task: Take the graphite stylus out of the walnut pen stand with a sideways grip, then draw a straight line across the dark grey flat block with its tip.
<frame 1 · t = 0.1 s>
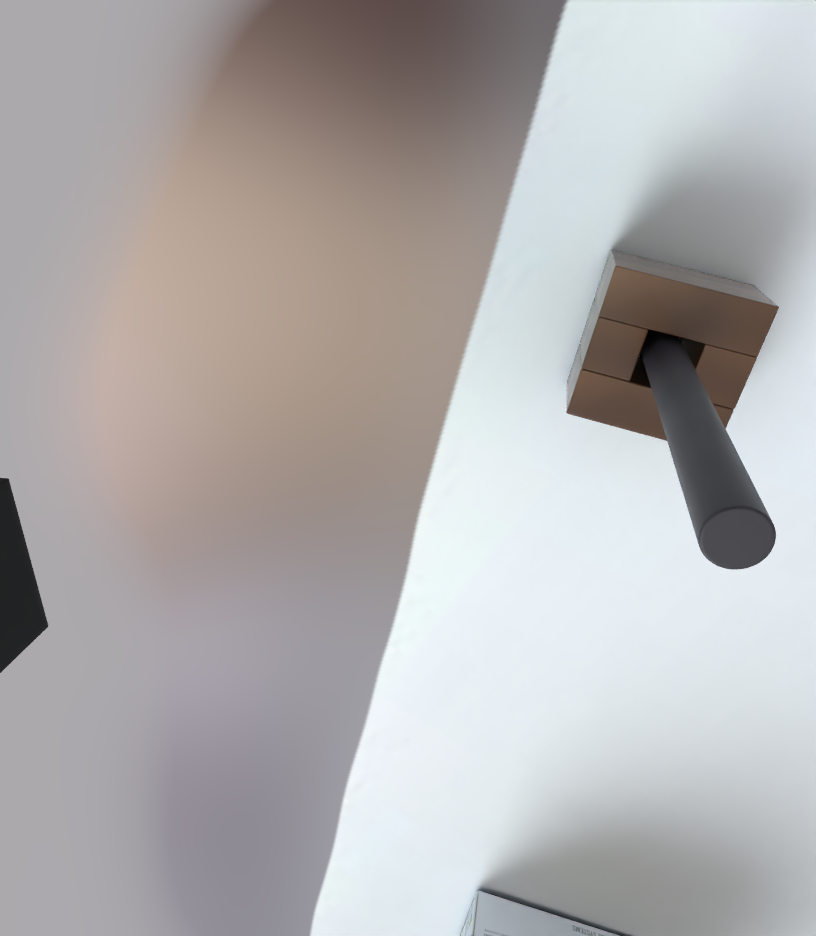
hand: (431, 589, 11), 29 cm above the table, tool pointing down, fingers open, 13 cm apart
pen stand: (656, 337, 37), on the table
stylus: (683, 405, 28), in the pen stand
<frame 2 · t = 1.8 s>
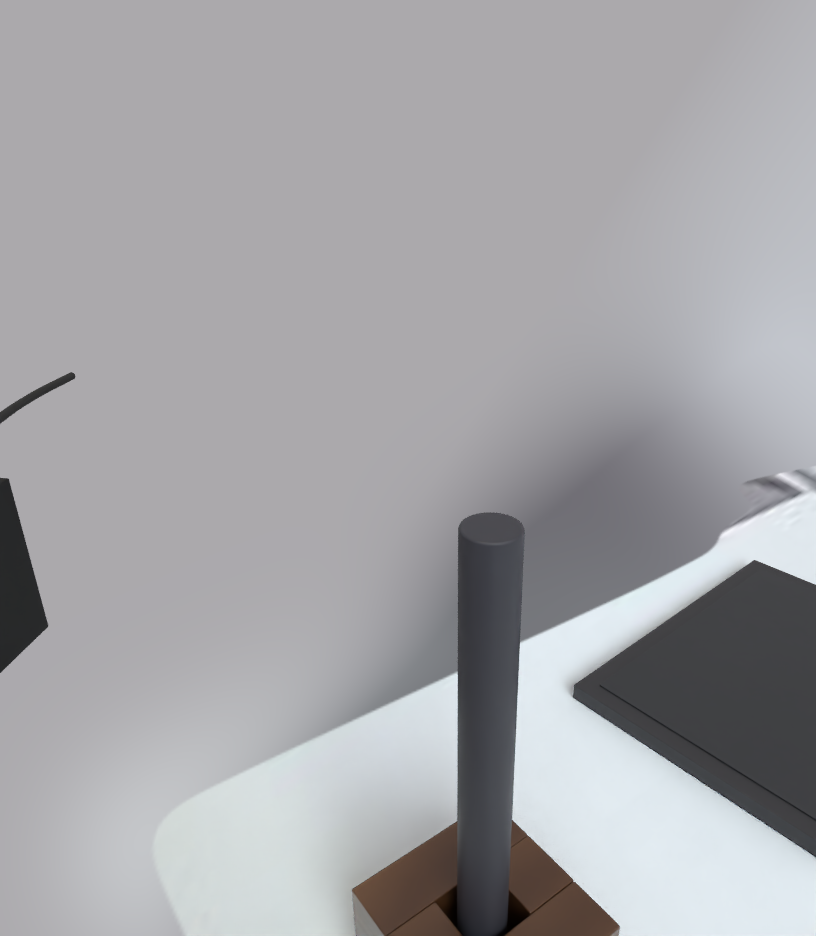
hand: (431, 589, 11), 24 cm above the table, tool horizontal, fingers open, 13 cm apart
dark grey flat block: (779, 681, 44), on the table
stylus: (485, 794, 25), in the pen stand
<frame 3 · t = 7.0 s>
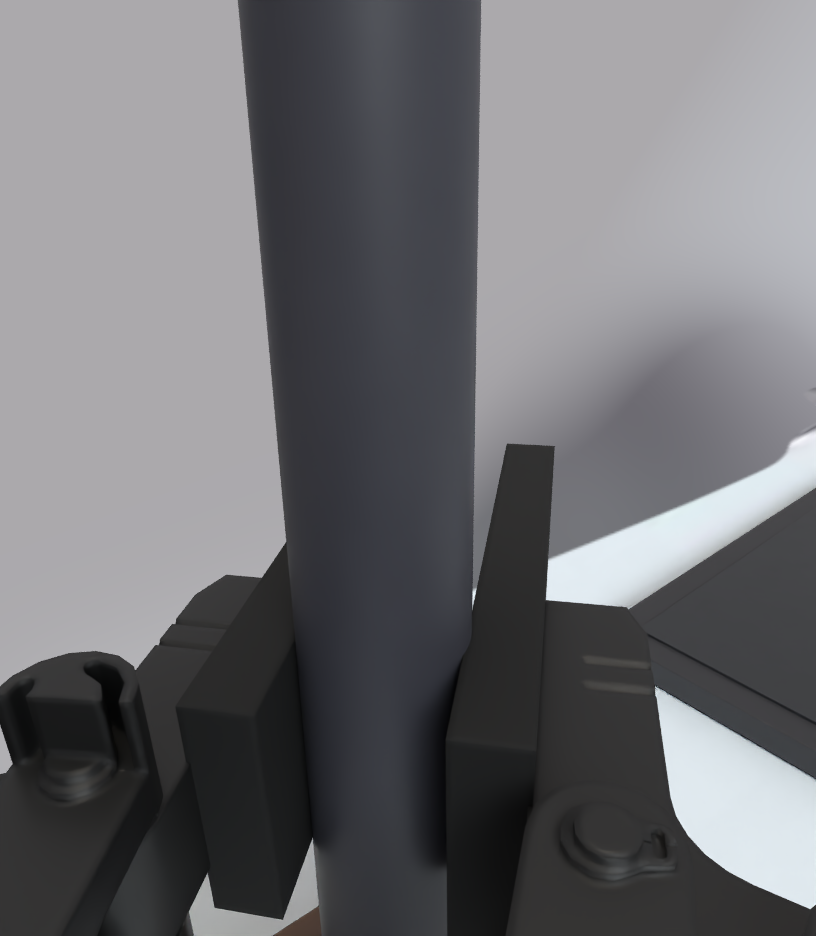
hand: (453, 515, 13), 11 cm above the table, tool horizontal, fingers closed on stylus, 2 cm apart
stylus: (390, 805, 9), in the pen stand, touching gripper
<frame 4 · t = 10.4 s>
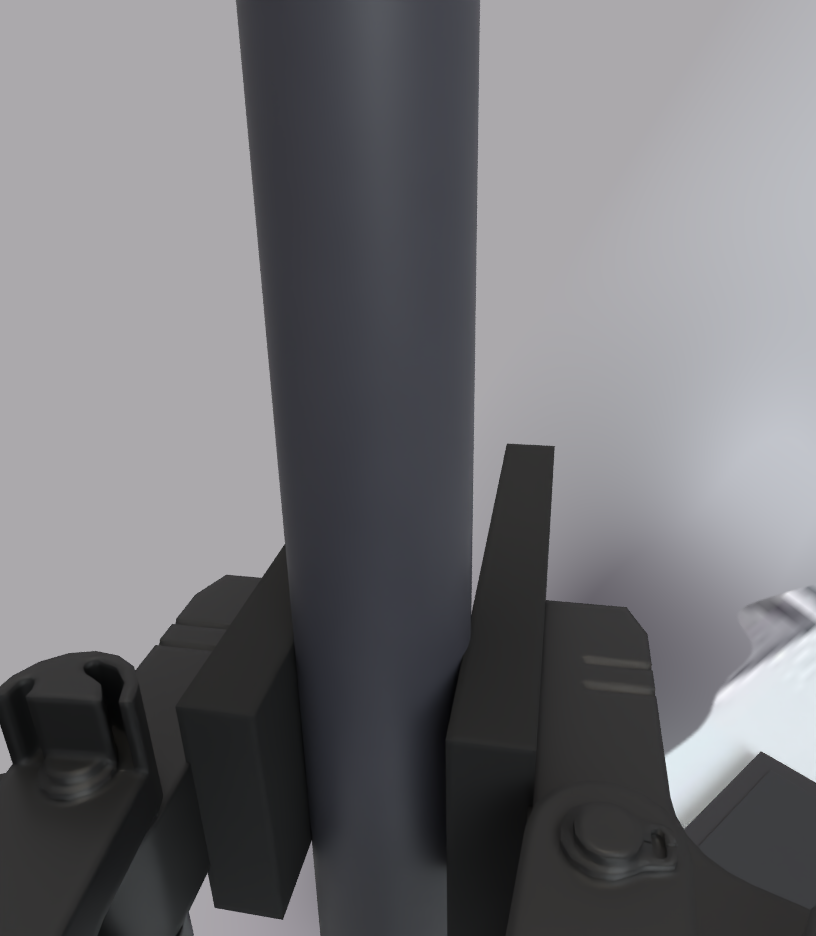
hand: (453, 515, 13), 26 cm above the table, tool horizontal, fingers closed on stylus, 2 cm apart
stylus: (389, 806, 9), point 25 cm above the table, touching gripper
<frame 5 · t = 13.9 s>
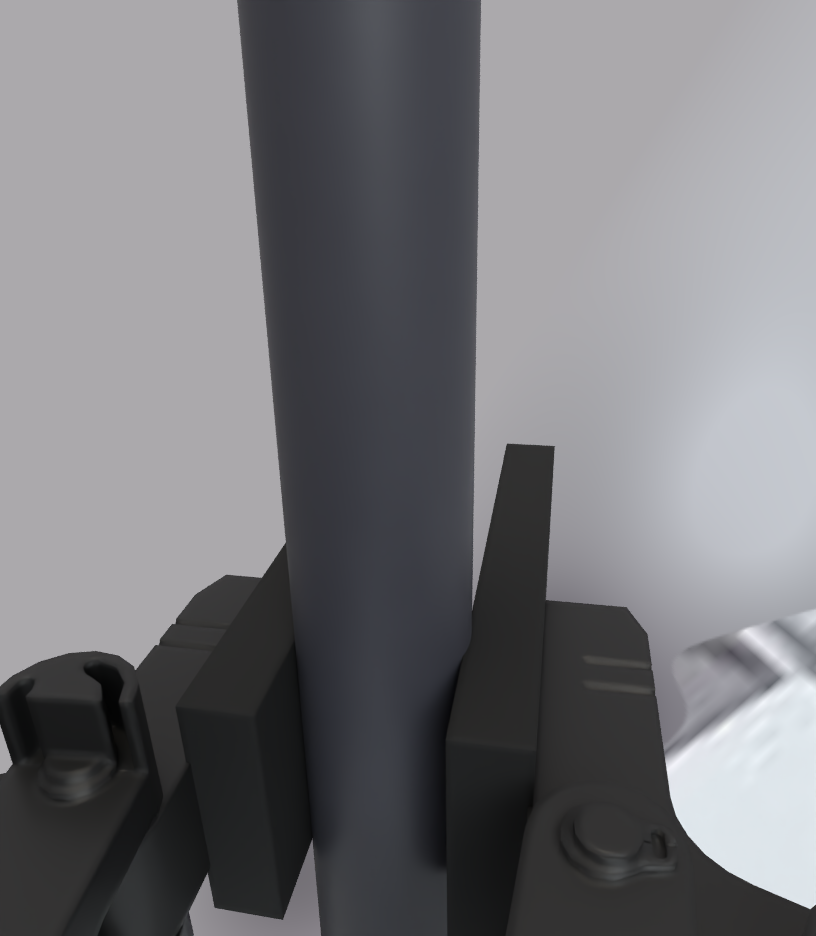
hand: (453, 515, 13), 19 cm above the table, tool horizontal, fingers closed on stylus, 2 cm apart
stylus: (389, 805, 9), point 18 cm above the table, touching gripper
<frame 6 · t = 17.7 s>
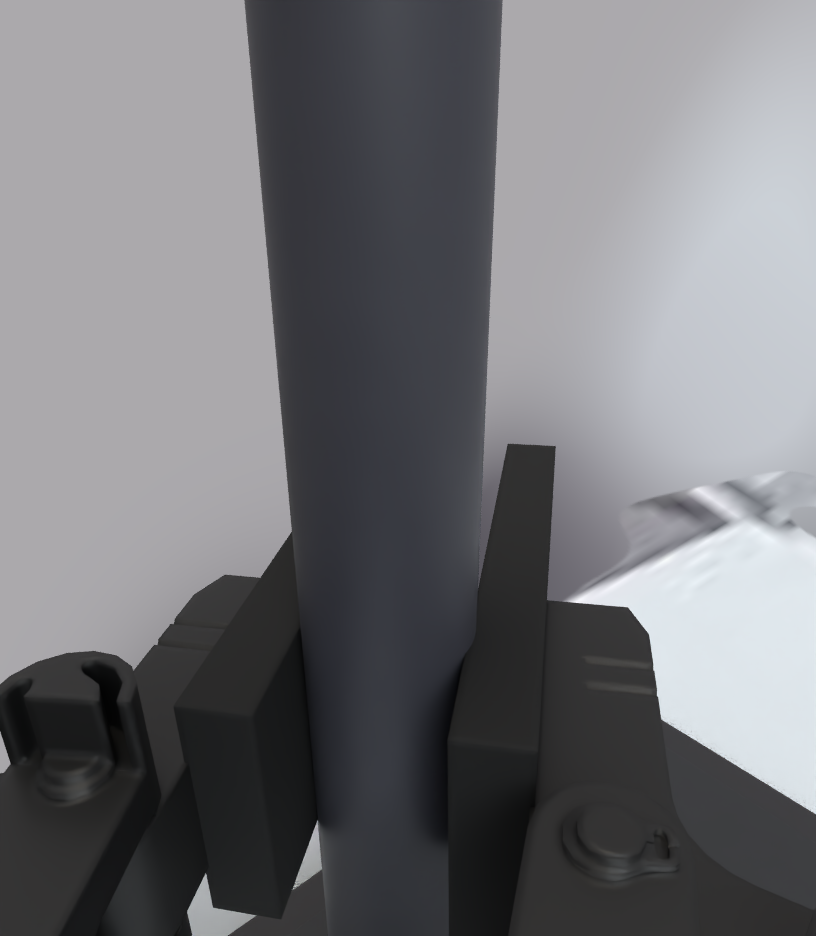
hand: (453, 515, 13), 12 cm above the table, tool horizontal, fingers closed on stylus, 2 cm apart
stylus: (392, 785, 9), point 11 cm above the table, touching gripper, dark grey flat block
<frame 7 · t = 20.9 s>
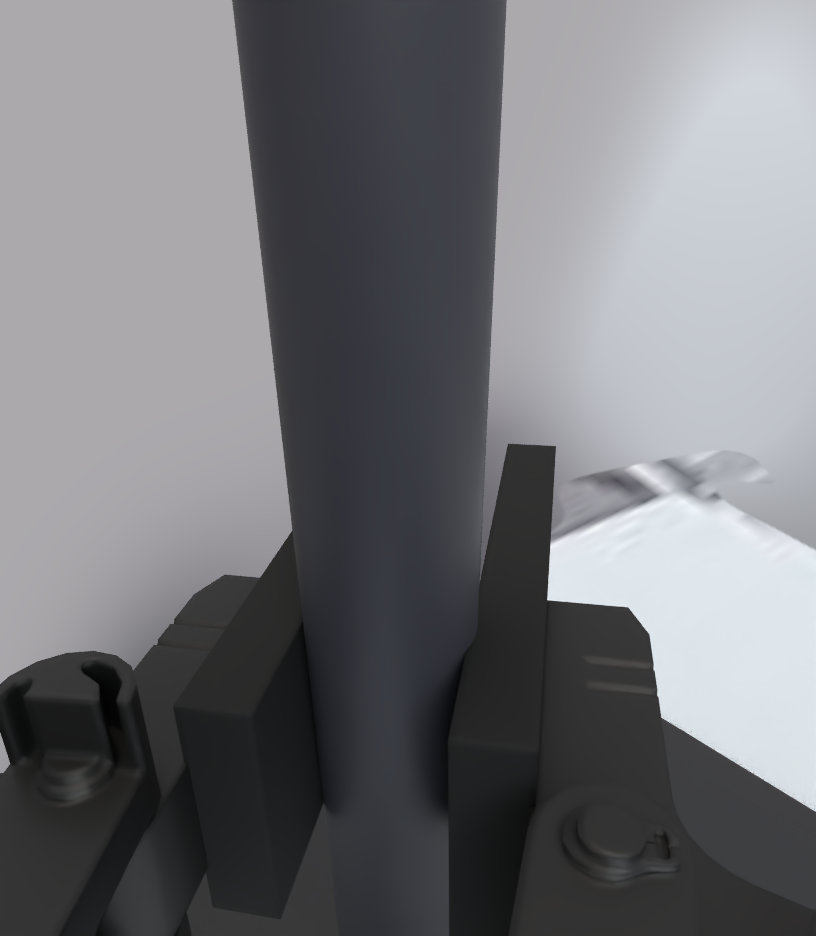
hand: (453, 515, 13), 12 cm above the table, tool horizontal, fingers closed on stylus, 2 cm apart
stylus: (395, 770, 9), on the dark grey flat block, point 11 cm above the table, tilted 7°, touching gripper
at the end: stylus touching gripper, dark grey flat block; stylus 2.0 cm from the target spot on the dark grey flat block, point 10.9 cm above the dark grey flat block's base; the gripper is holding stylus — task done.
